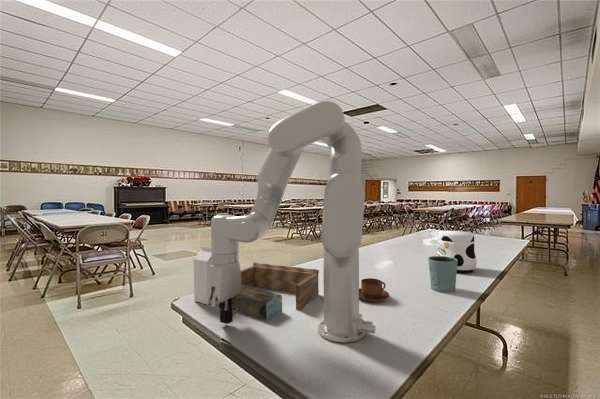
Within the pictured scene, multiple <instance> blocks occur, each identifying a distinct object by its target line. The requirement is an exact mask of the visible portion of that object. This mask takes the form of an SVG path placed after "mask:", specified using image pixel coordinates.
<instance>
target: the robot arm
mask: <svg viewBox="0 0 600 399" xmlns="http://www.w3.org/2000/svg"><path fill="white" fill-rule="evenodd" d="M318 141H321V142H323V143H324V144H325V145H327V147H328V149H329V166H328V167H329V172H328V179H327V180H328V181H327V183H326V185H325V187H324V195H323V208H322V220H321V221H322V226H321V243H322V245H323V320H322V321H321V322H320V323H319V324H318V327H317V330H318V333H319V335H321V337H322V338H324V339H326V340H328V341H331V342H336V343H353V342H357V341H360V340H361V339H363V338H364V337H365V335H366V332H367V333H370V334H376V329H377V328H376V325H374V322H373V321H369V320H364V319H363V313H360V298H359V289H360V252H359V251H360V250H359V249H360V247H361V244H362V237H363V227H364V226H363V224H364V212H365V196H366V194H365V189H364V188H365V187H364V185H363V183H362V180H361V179H362V143H361V140H360V137H359V135H358V133H357V131H355V129H354V128H353V127H352V125H350V124H349V123H347V122H346V121H345V114H344V110H343V109H342V108H341V106H340V105H339V104H338V103H336V102H334V101H330V100H328V101H327V100H325V101H320V102H316V103H314V104H311V105H310V106H308V107H306V108H303V109H301V110H299V111H297V112H295V113H293V114H291V115H289V116H287V117H284V118H282V119H280V120H279V121H277V122H276V123H274V124H273V125H272V126H271V128H270V129H269V130H268V133H267V142H268V145H269V149H268V151H267V154H266V155H265V158H264V160H263V161H262V162H263V163H262V164H261V167H260V169H259V171H258V173H257V178H256V180H257V182H256V183H257V196H256V198H255V201H254V204H253V206H252V208H251V210H250V213H249V214H248V213H247V214H245V215H239V216H237V215H235V214H234V215H233V214H218V215H214V216H213V217H212V218H211V220H210V233H211V234H210V239H211V242H210V243H211V244H210V245H211V246H210V247H211V251H212V265H210V268H209V273H208V283H207V299H208V300H212V303H211V304H210V307H211V308H216V309H218V310H219V322H220V323H222V324H227V325H229V324H231V323H232V322H233V321H234V320H233V319H234V318H233V309H232V308H233V306H234V301H235V299H236V298H237V297H238V296H239V293H240V292H241V285H242V283H241V270H242V269H241V263H240V260H239V258H240V255H239V253H240V251H239V250H240V249H239V248H240V245H239V243H247V244H248V243H253V242H255V241H257V240H259V239H260V238H262V237H263V236H265V235H266V234H267V232H269V230H270V227H271V226H272V224H273V221H274V219H275V217H276V215H277V212H278V210H279V208H280V205H281V203H282V200H283V197H284V194H285V190H286V188H287V185H288V184H289V181H290V179H291V178H292V175H293V172H294V170H295V168H296V166H297V164H298V162H299V160H300V158H301V155H302V154H303V150H304V148H305V147H307V146H309V145H311V144H314V143H316V142H318Z"/></svg>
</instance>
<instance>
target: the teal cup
mask: <svg viewBox="0 0 600 399" xmlns="http://www.w3.org/2000/svg"><path fill="white" fill-rule="evenodd" d="M427 259H428V261H427V262H428V266H429V267H428V268H429V278H430V279H429V281H430V289H431V290H432V291H433V292H437V293H441V294H442V293H443V294H453V293H455V292H456V287H457V286H456V285H457V284H456V283H457V262H458V260H457V259H455V258H452V257H446V256H436V255H433V256H429V257H428V258H427Z"/></svg>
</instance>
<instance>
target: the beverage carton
mask: <svg viewBox="0 0 600 399" xmlns="http://www.w3.org/2000/svg"><path fill="white" fill-rule="evenodd" d="M232 310H236V311H239V312H242V313H244V314H246V315H250V316H252V317H256V318H259V319H262V320H264V321H268V320H270V319H272V318H275V317H276V316H278V315H280V314H281V313H282V312H283V295H281V294H278V293H274V292H271V291H268V290H264V289H261V288H259V287H256V286H254V287H251V286H248V285H243V284H242V285H241V292H240V293H239V296H238V297H237V298H236V299H235V301H234V306H233V308H232Z"/></svg>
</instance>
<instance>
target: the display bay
mask: <svg viewBox="0 0 600 399" xmlns="http://www.w3.org/2000/svg"><path fill="white" fill-rule="evenodd" d="M252 264H253V265H251V266H248V267H246V268H243V269H240V270H241V283H242V284H243V285H248V286H251V287H256V286H257V287H256V288H263V287H264V288H265V289H269V288H271V289H270V290H276V289H278V290H277V291H282V290H283V292H288V291H289V292H290V293H295V310H297V311H301V310H302V309H304V308H305V307H306V306H307V305H308V304H309V303H310V302H312V301H313V300H315V299H316V297H318V296H319V292H320V290H319V273H320V270H319V269H318V268H316V269H314V268H307V267H300V266H292V265H291V266H288V265H281V264H271V263H262V262H255V261H254V262H253V263H252Z"/></svg>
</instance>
